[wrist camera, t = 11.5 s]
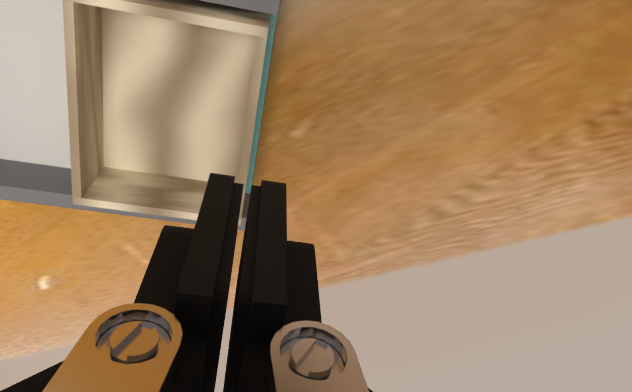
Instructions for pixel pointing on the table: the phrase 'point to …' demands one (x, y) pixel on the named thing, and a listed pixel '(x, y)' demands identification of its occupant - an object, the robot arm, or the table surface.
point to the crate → (160, 100)
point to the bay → (63, 105)
